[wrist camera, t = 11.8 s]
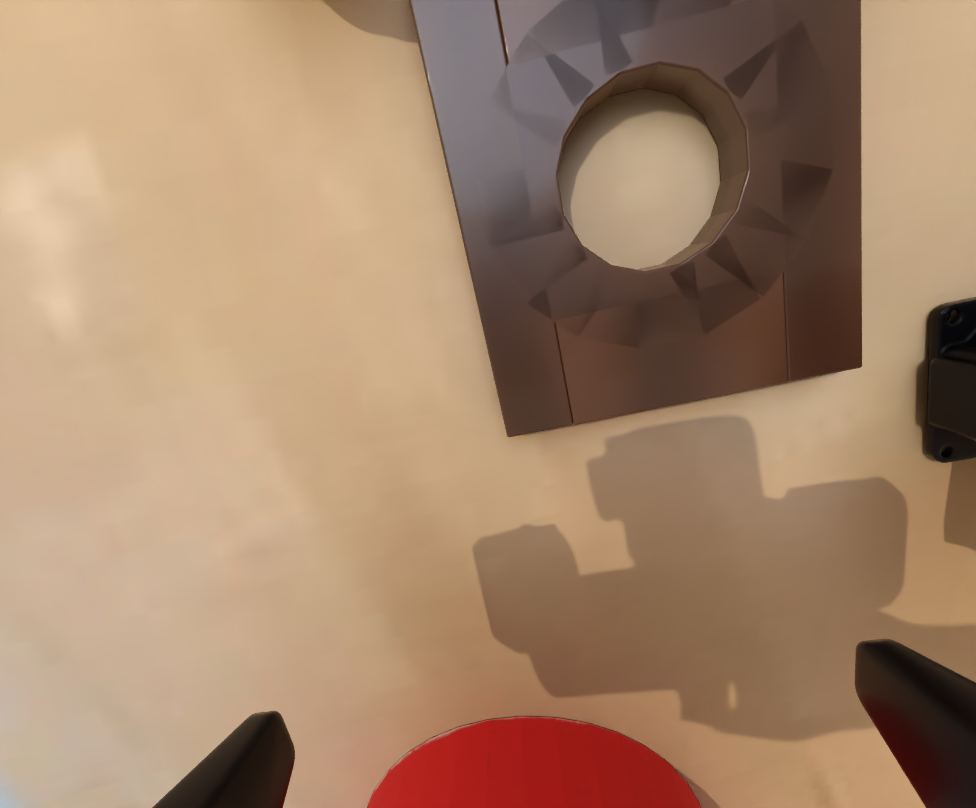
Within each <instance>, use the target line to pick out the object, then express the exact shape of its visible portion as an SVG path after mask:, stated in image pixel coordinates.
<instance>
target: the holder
mask: <svg viewBox="0 0 976 808" xmlns="http://www.w3.org/2000/svg"><path fill="white" fill-rule="evenodd" d="M409 3H410V7H411V12H412V16H413V21H414V25H415V30H416V34H417V38H418V43H419V47H420V52H421V56H422V61H423V65H424V69H425V74H426V78H427V83H428V87H429V92H430V96H431V100H432V105H433V109H434V114H435V118H436V123H437V127H438V131H439V136H440V140H441V145H442V149H443V154H444V158H445V162H446V167H447V171H448V176H449V180H450V185H451V189H452V193H453V198H454V202H455V207H456V211H457V216H458V220H459V224H460V229H461V233H462V238H463V242H464V247H465V251H466V255H467V260H468V264H469V269H470V273H471V278H472V282H473V287H474V291H475V295H476V300H477V304H478V309H479V313H480V318H481V322H482V326H483V331H484V335H485V340H486V344H487V349H488V353H489V357H490V362H491V366H492V371H493V375H494V380H495V384H496V388H497V393H498V397H499V402H500V406H501V411H502V415H503V419H504V424H505V428H506V433H507V436H508V437H513V436H518V435H523V434H528V433H533V432H538V431H543V430H548V429H553V428H558V427H563V426H568V425H572V424H580V423H585V422H590V421H595V420H600V419H605V418H610V417H615V416H620V415H625V414H630V413H635V412H640V411H645V410H650V409H656V408H661V407H666V406H671V405H676V404H681V403H686V402H691V401H696V400H701V399H706V398H711V397H716V396H721V395H726V394H731V393H736V392H741V391H746V390H751V389H756V388H761V387H766V386H772V385H777V384H782V383H787V382H788V381H789V382H790V381H795V380H800V379H805V378H810V377H815V376H821V375H826V374H831V373H836V372H841V371H846V370H851V369H856V368H860V367H862V250H861V0H409ZM640 88H645V89H650V90H655V91H661V92H666V93H671V94H676V95H677V96H678V97H680V98H681V99H682V100H684V101H685V102H686V103H688V104H689V105H690V106H692V107H693V108H694V109H696V110H697V111H698V112H699V113H701V114H702V116H703V117H704V119H705V121H706V123H707V125H708V127H709V129H710V131H711V133H712V135H713V137H714V139H715V141H716V143H717V145H718V152H719V164H720V177H721V183H720V187H719V190H718V194H717V197H716V201H715V204H714V208H713V211H712V214H711V217H710V218H709V220H708V221H707V222H706V224H705V225H704V227H703V228H702V229H701V231H700V232H699V234H698V235H697V236H696V238H695V239H694V240H693V242H692V243H691V245H690V246H688V247H687V248H685V249H684V250H682V251H681V252H679V253H678V254H676V255H675V256H673V257H672V258H670V259H669V260H668V261H666V262H665V263H663V264H661V265H657V266H652V267H648V268H643V269H639V270H635V269H630V268H624V267H619V266H613V265H610V264H609V263H607V262H606V261H604V260H603V259H602V258H600V257H599V256H597V255H596V254H594V253H593V252H591V251H590V250H588V249H587V248H586V247H584V246H583V245H582V244H581V242H580V240H579V239H578V237H577V236H576V234H575V232H574V231H573V229H572V228H571V226H570V224H569V223H568V221H567V219H566V218H565V216H564V213H563V207H562V201H561V195H560V189H559V183H558V177H557V176H558V171H559V166H560V161H561V156H562V151H563V146H564V142H565V140H566V139H567V137H568V135H569V134H570V132H571V130H572V129H573V127H574V125H575V124H576V122H577V121H578V119H580V118H581V117H582V116H583V115H585V114H586V113H587V112H589V111H590V110H591V109H592V108H594V107H595V106H596V105H598V104H599V103H600V102H601V101H603V100H604V99H605V98H607V97H609V96H613V95H617V94H621V93H624V92H628V91H632V90H636V89H640Z"/></svg>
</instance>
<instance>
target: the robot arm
mask: <svg viewBox="0 0 976 808" xmlns="http://www.w3.org/2000/svg"><path fill="white" fill-rule="evenodd" d="M950 312H951V318H950V319H949V320H948V322H947V316H948V315H949V314H950ZM944 447H945V448H944ZM943 448H944V450H943V451H942V452H941V450H942V449H943ZM925 451H926V454H927V456H928V457H930V458H932V459H934V460H937V461H939V462H941V463H947V462H953V461H958V460H964V459H970V458H975V457H976V297H974V298H969V299H964V300H959V301H954V302H949V303H945V304H942V305H940V306H938V307H937V308H936V309H935V310H934V311H933V313H932V314H931V318H930V339H929V366H928V393H927V420H926V447H925ZM855 688H856V692H857V695H858V697H859V699H860V701H861V703H862V705H863V707H864V708H865V710H866V712H867V713H868V715H869V716H870V718H871V720H872V721H873V723H874V724H875V726H876V728H877V729H878V731H879V732H880V734H881V736H882V737H883V739H884V741H885V742H886V744H887V745H888V747H889V749H890V750H891V752H892V753H893V755H894V757H895V758H896V760H897V761H898V763H899V765H900V766H901V768H902V770H903V771H904V773H905V774H906V776H907V778H908V779H909V781H910V782H911V784H912V786H913V787H914V789H915V790H916V792H917V794H918V795H919V797H920V799H921V800H922V802H923V803H924V805H925V807H926V808H976V683H975V682H973V681H971V680H969V679H967V678H965V677H964V676H962V675H960V674H958V673H956V672H954V671H952V670H950V669H948V668H946V667H944V666H942V665H940V664H938V663H937V662H935V661H933V660H931V659H929V658H927V657H925V656H923V655H921V654H919V653H917V652H915V651H913V650H911V649H909V648H908V647H906V646H904V645H902V644H900V643H898V642H896V641H893V640H890V639H877V640H869V641H862V642H859V644H858V645H857V647H856V662H855ZM294 760H295V750H294V745H293V742H292V740H291V737H290V735H289V732H288V730H287V728H286V725H285V723H284V720H283V718H282V716H281V714H280V713H278V712H277V711H269V712H261V713H255V714H253V715H251V716H250V717H249V718H247V719H246V720H245V721H244V722H243V723H242V724H241V725H240V726H239V727H238V728H237V729H235V730H234V731H233V732H232V733H231V734H230V735H229V736H228V737H227V738H226V739H225V740H224V741H223V742H222V743H221V744H220V745H218V746H217V747H216V748H215V749H214V750H213V751H212V752H211V753H210V754H209V755H208V756H207V757H206V758H205V759H204V760H202V761H201V762H200V763H199V764H198V765H197V766H196V767H195V768H194V769H193V770H192V771H191V772H190V773H189V774H188V775H187V776H185V777H184V778H183V779H182V780H181V781H180V782H179V783H178V784H177V785H176V786H175V787H174V788H173V789H172V790H171V791H170V792H168V793H167V794H166V795H165V796H164V797H163V798H162V799H161V800H160V801H159V802H158V803H157V804H156V805H155V806H154V807H152V808H283V804H284V800H285V797H286V793H287V789H288V785H289V781H290V777H291V774H292V770H293V766H294Z"/></svg>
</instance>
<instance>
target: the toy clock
mask: <svg viewBox="0 0 976 808" xmlns="http://www.w3.org/2000/svg"><path fill="white" fill-rule="evenodd" d="M367 808H701V806H700V803H699V801H698V800H697V798H696V796H695V795H694V793H693V791H692V790H691V788H690V787H689V785H688V783H687V782H686V781H685V780H684V779H683V778H682V776H681V775H680V774H679V773H678V772H677V771H676V770H675V769H674V768H673V767H672V766H671V765H670V764H669V763H668V762H667V761H665V760H664V759H662V758H661V757H660V756H658V755H657V754H655V753H654V752H653V751H651V750H650V749H649V748H647V747H646V746H644V745H642V744H640V743H638V742H636V741H634V740H632V739H630V738H628V737H626V736H624V735H622V734H620V733H617V732H614V731H611V730H608V729H605V728H602V727H598V726H595V725H592V724H589V723H584V722H579V721H573V720H567V719H561V718H555V717H526V716H520V717H510V718H500V719H491V720H485V721H481V722H477V723H473V724H469V725H465V726H461V727H457V728H455V729H453V730H450V731H448V732H445V733H443V734H440V735H438V736H436V737H433V738H431V739H429V740H427V741H426V742H424V743H423V744H421V745H419V746H418V747H416V748H415V749H413V750H411V751H410V752H408V753H407V754H406V755H404V756H403V757H402V758H401V759H400V760H399V761H398V762H397V763H396V764H395V765H394V766H392V767H391V768H390V769H389V770H388V771H387V773H386V774H385V776H384V777H383V778H382V780H381V781H380V783H379V784H378V785H377V787H376V788H375V790H374V792H373V794H372V797H371V799H370V802H369V804H368V806H367Z"/></svg>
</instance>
